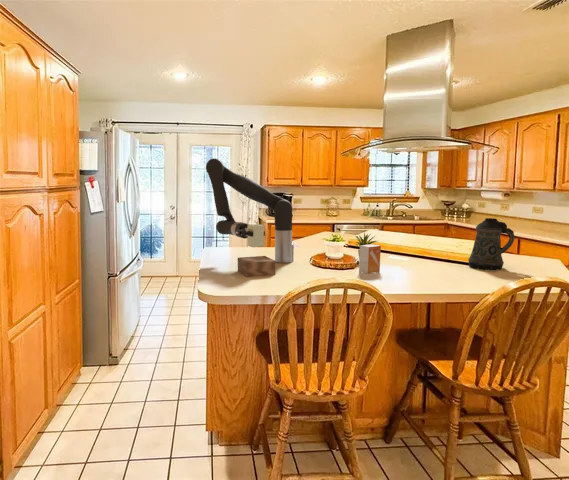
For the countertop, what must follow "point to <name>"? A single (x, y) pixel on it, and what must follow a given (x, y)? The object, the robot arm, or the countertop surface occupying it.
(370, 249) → the small box
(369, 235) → the house plant
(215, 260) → the countertop surface
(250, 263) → the walnut block
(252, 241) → the sage tea tin
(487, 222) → the beer stein
